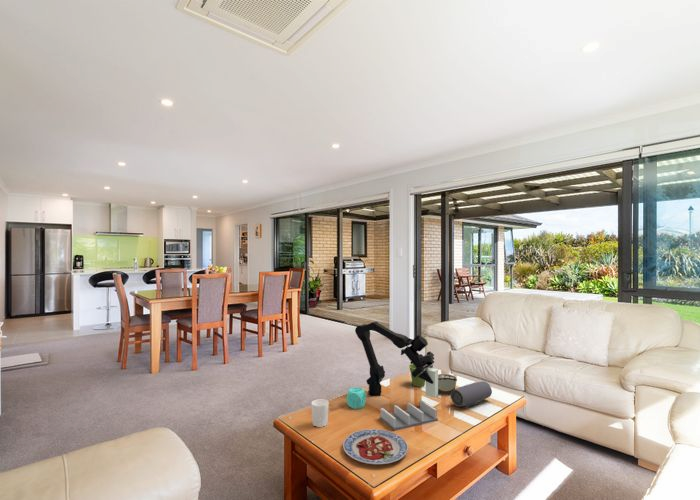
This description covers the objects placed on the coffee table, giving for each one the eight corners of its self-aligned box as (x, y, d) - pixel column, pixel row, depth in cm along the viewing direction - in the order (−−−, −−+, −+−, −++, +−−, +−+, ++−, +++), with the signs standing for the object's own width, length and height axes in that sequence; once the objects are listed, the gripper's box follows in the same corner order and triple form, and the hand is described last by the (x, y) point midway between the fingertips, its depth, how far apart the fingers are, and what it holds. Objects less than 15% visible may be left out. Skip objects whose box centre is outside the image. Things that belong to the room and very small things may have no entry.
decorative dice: (346, 407, 182) (346, 391, 182) (351, 401, 189) (352, 386, 189) (361, 409, 179) (361, 394, 179) (366, 403, 187) (366, 388, 187)
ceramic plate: (334, 440, 150) (334, 433, 150) (388, 429, 159) (388, 423, 159) (358, 476, 126) (358, 467, 126) (420, 460, 135) (420, 452, 135)
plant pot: (432, 384, 214) (432, 366, 214) (421, 390, 205) (421, 370, 206) (415, 380, 222) (415, 362, 222) (404, 385, 214) (404, 366, 214)
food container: (455, 391, 204) (455, 374, 204) (457, 395, 198) (457, 377, 198) (433, 390, 205) (433, 373, 205) (434, 394, 199) (434, 376, 199)
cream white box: (435, 397, 179) (435, 371, 179) (425, 395, 181) (425, 369, 181) (438, 394, 182) (438, 369, 183) (428, 392, 185) (428, 367, 185)
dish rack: (379, 418, 170) (379, 407, 170) (421, 409, 180) (421, 399, 180) (393, 430, 158) (394, 419, 158) (437, 420, 168) (437, 409, 168)
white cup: (331, 422, 166) (331, 400, 166) (324, 429, 158) (324, 407, 159) (315, 419, 168) (315, 398, 169) (308, 426, 161) (308, 404, 161)
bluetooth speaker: (478, 396, 197) (478, 378, 197) (492, 402, 189) (492, 383, 190) (449, 405, 185) (449, 385, 185) (464, 411, 177) (464, 391, 177)
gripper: (417, 351, 176) (439, 378, 170) (430, 343, 192) (451, 367, 186) (403, 364, 181) (423, 391, 174) (417, 356, 196) (436, 380, 190)
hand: (434, 382), depth 181 cm, fingers closed on cream white box, 4 cm apart
